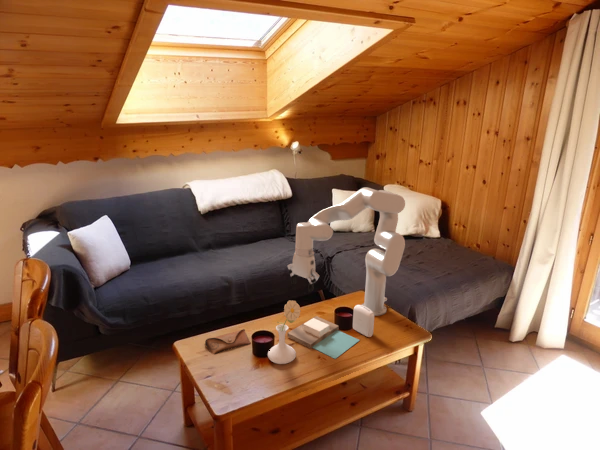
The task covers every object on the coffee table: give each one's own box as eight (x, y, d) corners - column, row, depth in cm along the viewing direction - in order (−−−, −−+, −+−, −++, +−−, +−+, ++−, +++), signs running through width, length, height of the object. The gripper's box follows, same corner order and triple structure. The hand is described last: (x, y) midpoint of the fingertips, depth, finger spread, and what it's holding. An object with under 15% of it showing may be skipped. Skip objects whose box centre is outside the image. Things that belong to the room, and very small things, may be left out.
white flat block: (313, 323, 186) (313, 318, 185) (329, 331, 180) (329, 325, 179) (303, 329, 180) (303, 323, 180) (319, 337, 175) (319, 331, 174)
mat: (337, 330, 184) (337, 329, 184) (359, 340, 177) (359, 340, 177) (311, 347, 171) (312, 346, 171) (335, 359, 164) (335, 358, 164)
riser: (316, 319, 193) (316, 315, 192) (338, 329, 185) (338, 325, 184) (287, 336, 178) (287, 332, 178) (310, 348, 170) (310, 344, 170)
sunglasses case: (211, 355, 164) (208, 338, 166) (207, 355, 170) (204, 339, 172) (252, 343, 173) (249, 327, 174) (247, 343, 179) (243, 328, 180)
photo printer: (350, 328, 186) (352, 304, 183) (357, 325, 189) (359, 301, 185) (368, 338, 179) (369, 313, 175) (374, 335, 181) (376, 310, 178)
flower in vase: (272, 369, 157) (272, 311, 149) (264, 353, 167) (263, 297, 160) (304, 362, 161) (305, 305, 154) (293, 346, 172) (294, 292, 164)
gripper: (325, 254, 173) (322, 291, 178) (294, 244, 184) (293, 279, 189) (314, 258, 168) (312, 296, 173) (283, 248, 178) (282, 284, 183)
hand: (302, 287), depth 181 cm, fingers open, 9 cm apart
